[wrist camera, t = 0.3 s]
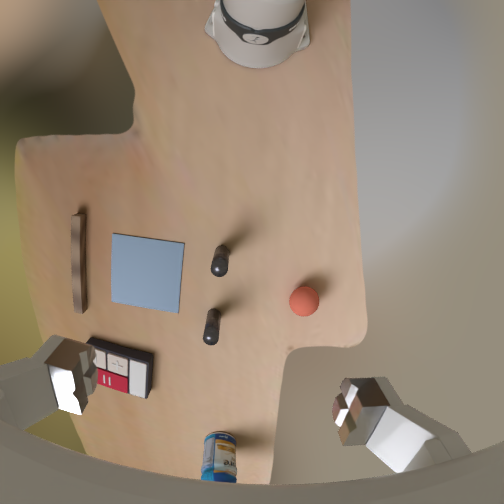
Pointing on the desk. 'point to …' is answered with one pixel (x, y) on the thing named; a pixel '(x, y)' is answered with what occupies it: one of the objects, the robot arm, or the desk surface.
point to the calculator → (123, 368)
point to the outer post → (212, 327)
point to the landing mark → (146, 272)
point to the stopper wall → (78, 262)
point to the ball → (304, 301)
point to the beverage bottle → (219, 458)
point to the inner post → (220, 261)
